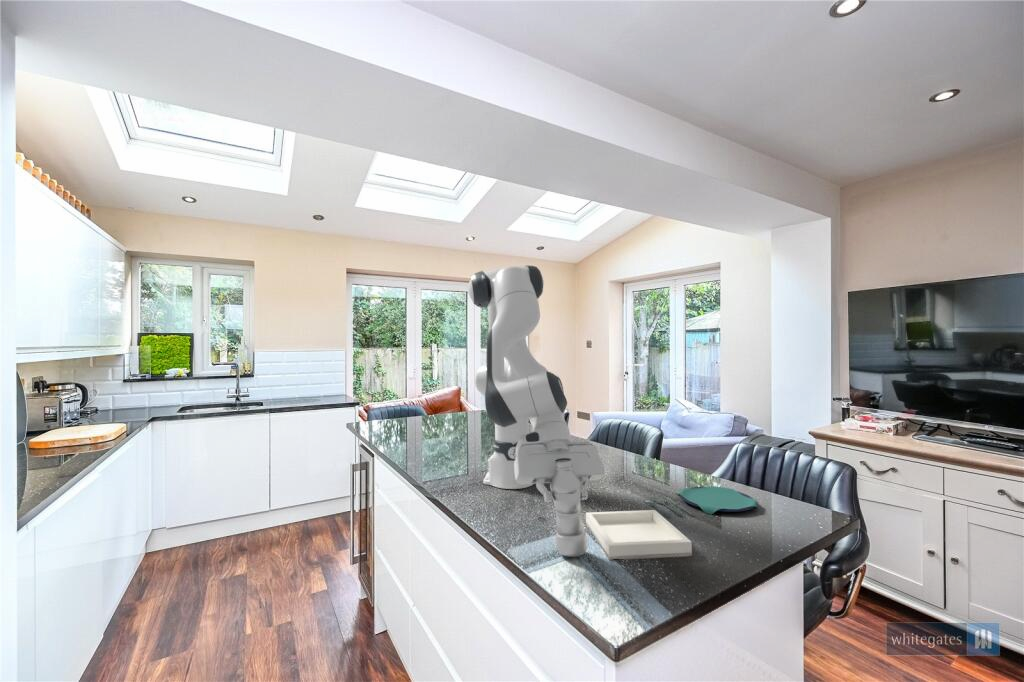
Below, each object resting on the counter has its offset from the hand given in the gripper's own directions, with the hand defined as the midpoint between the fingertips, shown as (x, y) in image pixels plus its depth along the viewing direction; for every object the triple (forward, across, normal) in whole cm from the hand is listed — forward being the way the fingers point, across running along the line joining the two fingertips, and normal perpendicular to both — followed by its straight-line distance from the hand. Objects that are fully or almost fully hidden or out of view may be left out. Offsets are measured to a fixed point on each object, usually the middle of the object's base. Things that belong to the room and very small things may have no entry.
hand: (566, 499), depth 91 cm
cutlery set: (-5, -48, -22) cm, 53 cm away
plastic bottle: (+8, -2, -8) cm, 12 cm away
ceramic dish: (+6, -18, -11) cm, 22 cm away
